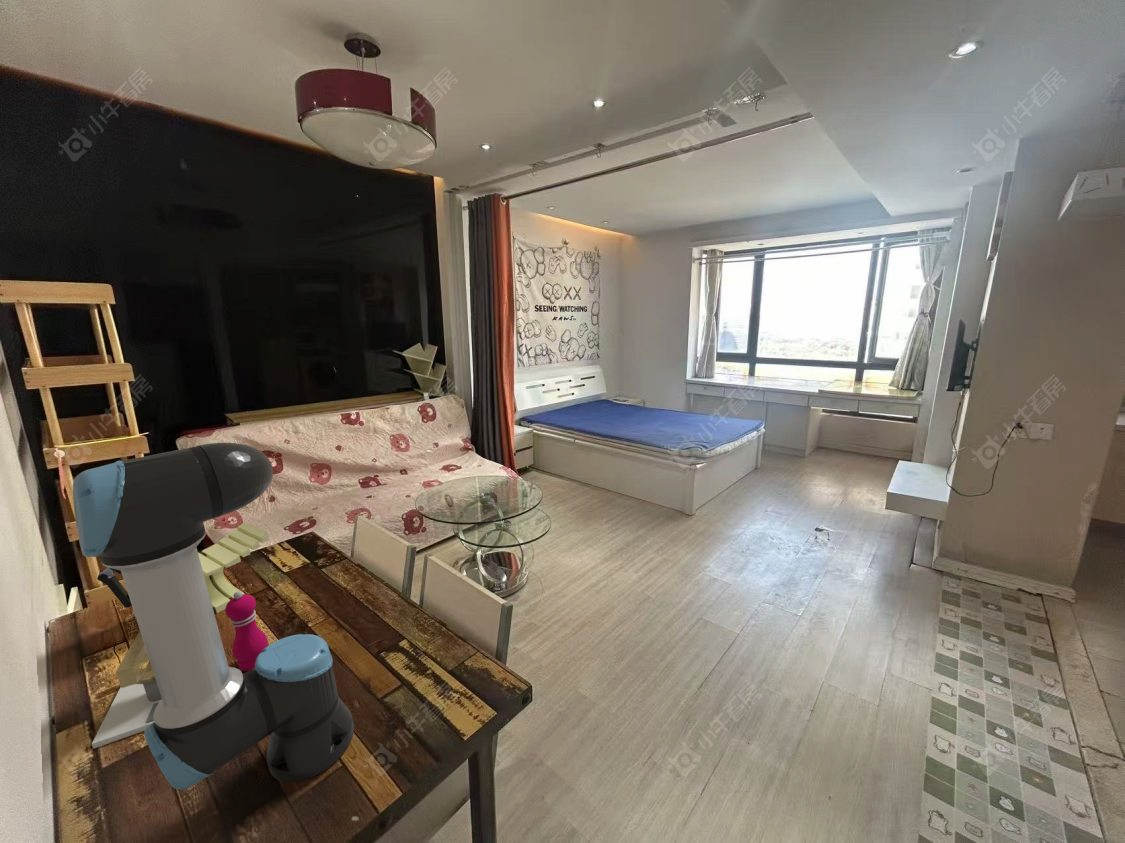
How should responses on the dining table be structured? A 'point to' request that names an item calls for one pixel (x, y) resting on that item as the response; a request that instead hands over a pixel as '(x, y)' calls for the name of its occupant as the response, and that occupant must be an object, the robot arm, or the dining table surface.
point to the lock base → (129, 713)
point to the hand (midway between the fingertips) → (155, 625)
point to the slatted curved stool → (228, 561)
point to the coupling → (135, 665)
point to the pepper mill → (245, 630)
